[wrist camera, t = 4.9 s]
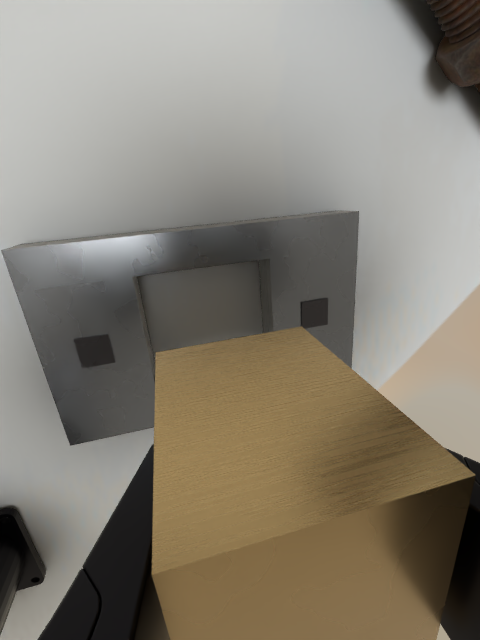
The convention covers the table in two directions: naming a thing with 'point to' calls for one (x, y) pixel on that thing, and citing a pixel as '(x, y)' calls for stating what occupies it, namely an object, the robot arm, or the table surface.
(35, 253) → the grey slotted plate
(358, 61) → the table surface
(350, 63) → the table surface
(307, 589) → the wooden block
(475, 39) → the bolt
